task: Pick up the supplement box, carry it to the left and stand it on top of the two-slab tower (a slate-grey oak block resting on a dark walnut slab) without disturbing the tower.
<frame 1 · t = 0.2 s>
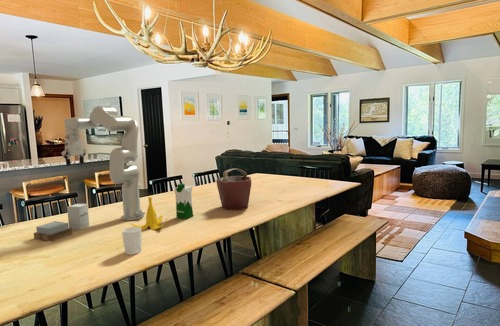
hand: (75, 164, 215), 31 cm above the table, fingers open, 9 cm apart
bucket: (234, 207, 218), on the table
tower top: (53, 230, 169), point 3 cm above the table, touching tower base
white cup: (133, 252, 146), on the table
tower base: (53, 236, 170), on the table
supplement box: (79, 228, 183), on the table
banana peel: (147, 228, 180), on the table
milk carton: (185, 217, 197), on the table
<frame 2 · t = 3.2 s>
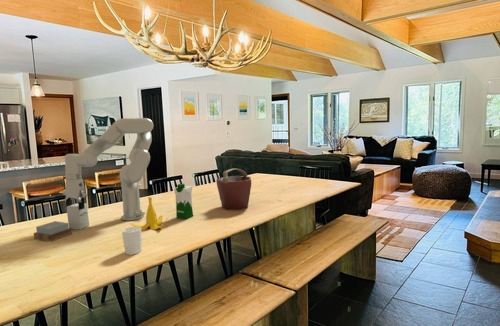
hand: (75, 208, 181), 11 cm above the table, fingers open, 9 cm apart
nothing on the table moved.
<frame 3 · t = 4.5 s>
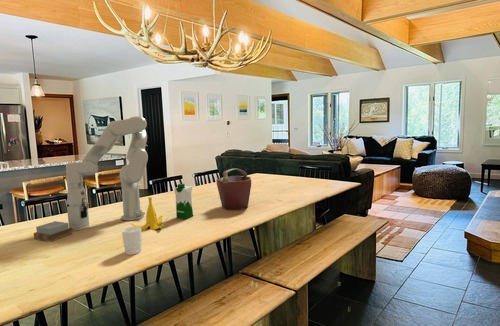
hand: (78, 216, 183), 6 cm above the table, fingers closed on supplement box, 8 cm apart
supplement box: (79, 228, 183), on the table, touching gripper
everything else where it was.
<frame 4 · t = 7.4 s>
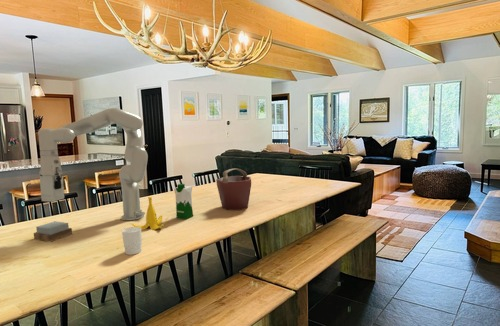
hand: (52, 188, 169), 25 cm above the table, fingers closed on supplement box, 8 cm apart
supplement box: (53, 200, 169), point 18 cm above the table, touching gripper
everything else where it was.
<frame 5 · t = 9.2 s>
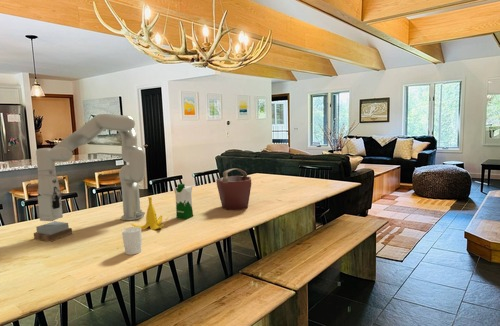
hand: (50, 207, 168), 15 cm above the table, fingers closed on supplement box, 8 cm apart
supplement box: (51, 219, 169), point 9 cm above the table, touching gripper
everything else where it was.
when the fingers open (13 cm above the table, at t = 10.7 s): supplement box stays where it is, resting on tower top.
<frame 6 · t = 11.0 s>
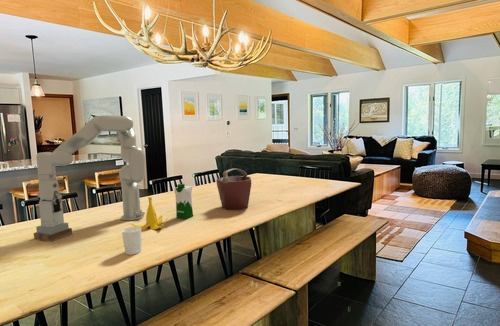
hand: (50, 210, 168), 13 cm above the table, fingers open, 9 cm apart
tower top: (53, 230, 169), point 3 cm above the table, touching supplement box, tower base
supplement box: (53, 225, 169), point 6 cm above the table, touching tower top
everything else where it was.
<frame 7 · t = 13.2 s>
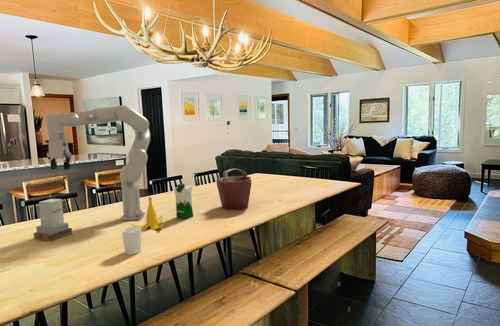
hand: (60, 169, 179), 33 cm above the table, fingers open, 9 cm apart
nothing on the table moved.
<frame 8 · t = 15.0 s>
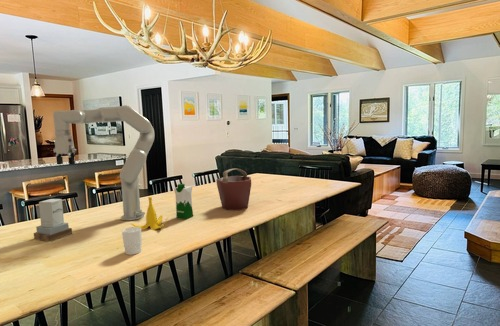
hand: (65, 164, 186), 34 cm above the table, fingers open, 9 cm apart
nothing on the table moved.
at the end: supplement box inside the target area on the tower base (0.2 cm from its centre), point 5.8 cm above the tower base's base; supplement box tilted 0°; tower top moved 0.0 cm from its start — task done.
